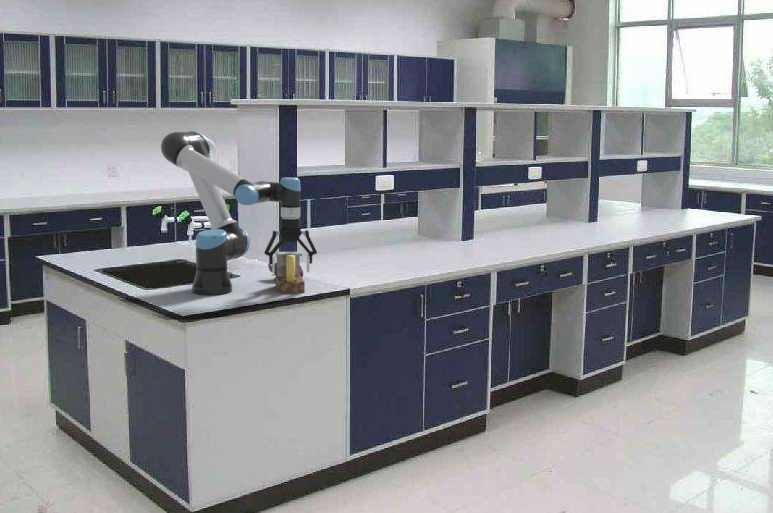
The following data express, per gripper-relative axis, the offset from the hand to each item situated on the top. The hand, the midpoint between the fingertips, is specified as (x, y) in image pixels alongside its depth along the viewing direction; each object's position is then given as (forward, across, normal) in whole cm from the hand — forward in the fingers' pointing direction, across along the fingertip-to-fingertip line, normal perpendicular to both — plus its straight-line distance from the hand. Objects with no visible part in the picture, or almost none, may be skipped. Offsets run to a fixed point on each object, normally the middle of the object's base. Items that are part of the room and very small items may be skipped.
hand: (290, 272), depth 326 cm
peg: (+7, 0, 0) cm, 7 cm away
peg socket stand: (+7, 0, +4) cm, 8 cm away
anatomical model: (+8, +1, +24) cm, 25 cm away
